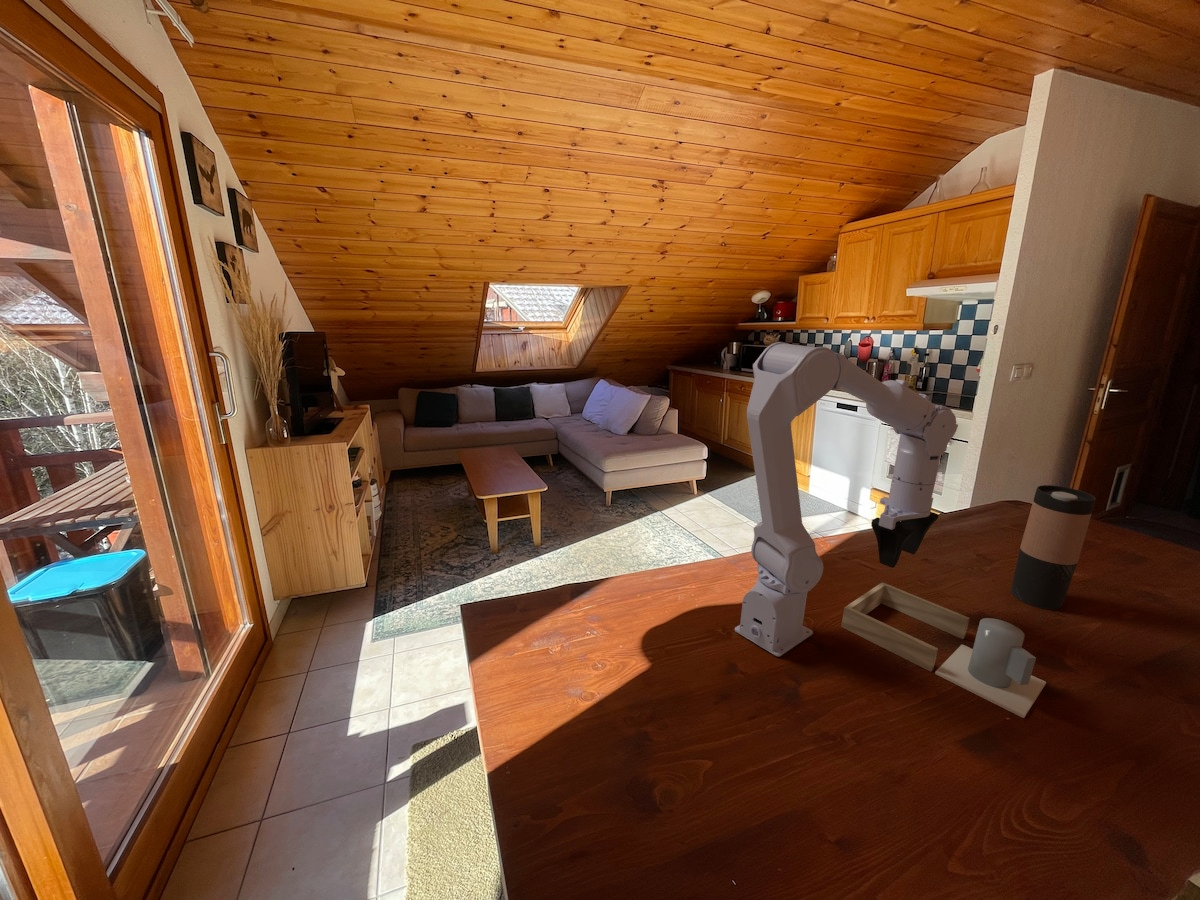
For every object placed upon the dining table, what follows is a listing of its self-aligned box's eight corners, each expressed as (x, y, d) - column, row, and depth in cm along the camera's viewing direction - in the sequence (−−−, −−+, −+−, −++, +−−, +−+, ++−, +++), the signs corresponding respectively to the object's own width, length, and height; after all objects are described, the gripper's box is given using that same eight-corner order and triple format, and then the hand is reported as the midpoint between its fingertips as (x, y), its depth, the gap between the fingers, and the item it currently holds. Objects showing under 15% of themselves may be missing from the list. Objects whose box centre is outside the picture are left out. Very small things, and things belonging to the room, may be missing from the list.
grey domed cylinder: (959, 665, 73) (971, 618, 71) (990, 663, 73) (1002, 617, 71) (1002, 702, 66) (1016, 652, 64) (1036, 699, 67) (1051, 650, 65)
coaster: (1023, 718, 64) (1024, 715, 64) (935, 673, 72) (935, 671, 71) (1045, 684, 70) (1046, 681, 70) (961, 646, 78) (961, 644, 77)
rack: (931, 671, 72) (936, 650, 71) (841, 626, 82) (844, 607, 81) (964, 637, 80) (969, 617, 79) (878, 600, 90) (882, 582, 89)
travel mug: (1043, 588, 94) (1072, 486, 89) (1075, 612, 87) (1110, 502, 82) (998, 585, 95) (1025, 483, 90) (1027, 609, 88) (1058, 499, 82)
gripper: (906, 464, 87) (892, 538, 91) (865, 480, 78) (851, 561, 82) (953, 475, 82) (936, 553, 85) (915, 494, 73) (897, 579, 77)
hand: (897, 558), depth 83 cm, fingers open, 7 cm apart
